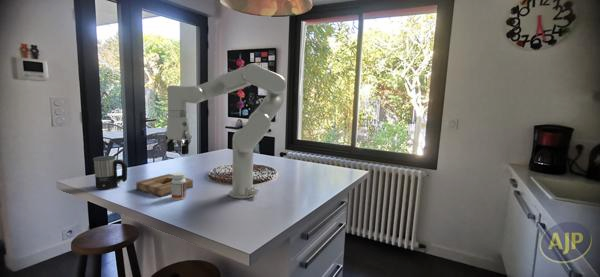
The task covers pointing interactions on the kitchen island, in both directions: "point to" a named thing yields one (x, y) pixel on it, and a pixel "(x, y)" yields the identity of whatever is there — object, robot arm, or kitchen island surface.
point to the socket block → (159, 185)
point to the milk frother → (108, 172)
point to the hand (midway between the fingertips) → (177, 152)
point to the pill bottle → (178, 186)
